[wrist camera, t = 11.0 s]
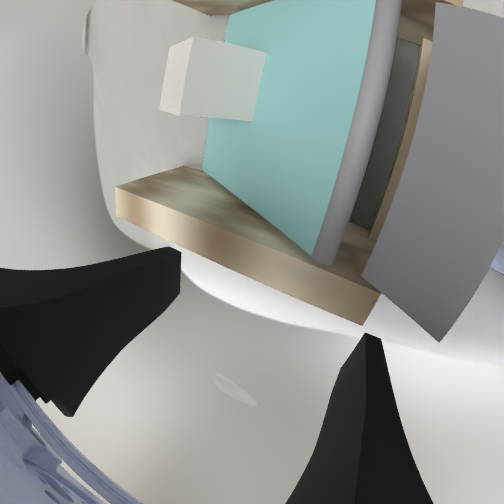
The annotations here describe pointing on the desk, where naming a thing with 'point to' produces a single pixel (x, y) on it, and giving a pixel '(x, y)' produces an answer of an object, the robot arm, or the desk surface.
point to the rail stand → (257, 227)
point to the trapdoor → (362, 139)
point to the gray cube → (212, 79)
